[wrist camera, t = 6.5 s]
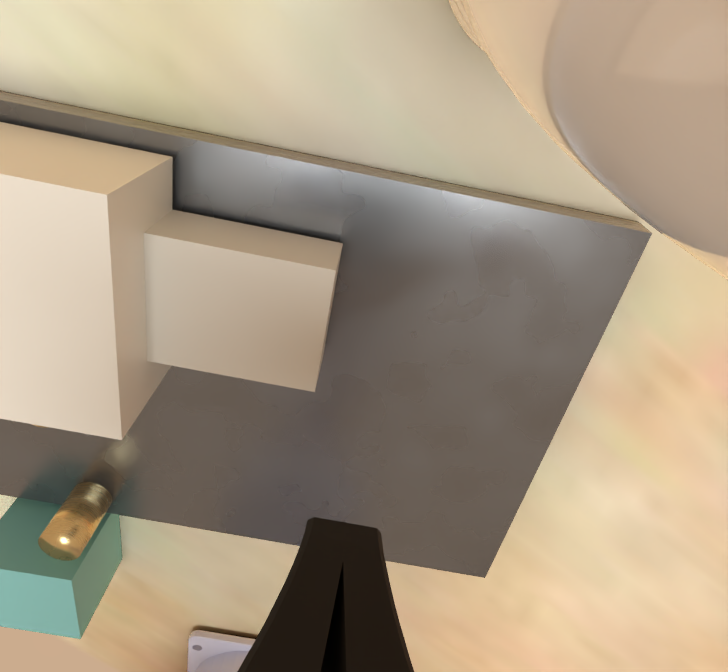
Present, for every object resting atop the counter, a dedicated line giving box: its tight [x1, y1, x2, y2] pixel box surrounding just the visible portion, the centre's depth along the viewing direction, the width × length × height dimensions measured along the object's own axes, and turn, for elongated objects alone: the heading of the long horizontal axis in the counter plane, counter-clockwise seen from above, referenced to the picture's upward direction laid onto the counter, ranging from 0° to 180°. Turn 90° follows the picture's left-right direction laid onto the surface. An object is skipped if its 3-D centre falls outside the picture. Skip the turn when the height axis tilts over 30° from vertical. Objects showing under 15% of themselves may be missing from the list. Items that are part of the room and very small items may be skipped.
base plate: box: [0, 91, 652, 578], centre depth 18 cm, size 16×22×4 cm
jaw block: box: [0, 497, 122, 639], centre depth 23 cm, size 4×4×4 cm
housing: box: [0, 122, 343, 440], centre depth 15 cm, size 7×12×4 cm, turn 79°
